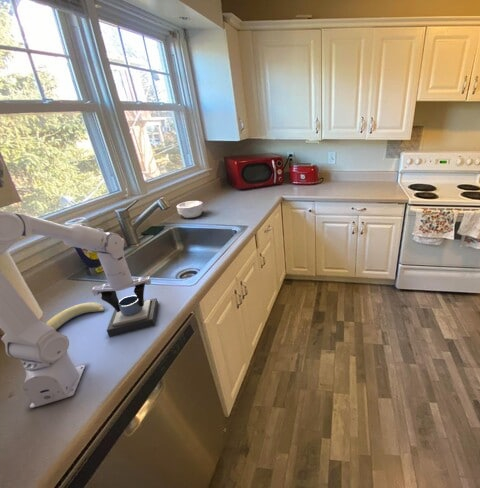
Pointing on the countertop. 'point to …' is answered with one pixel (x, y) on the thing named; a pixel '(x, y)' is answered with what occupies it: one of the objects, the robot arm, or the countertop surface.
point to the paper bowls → (190, 209)
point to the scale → (136, 324)
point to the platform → (140, 315)
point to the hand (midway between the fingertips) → (131, 307)
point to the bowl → (129, 305)
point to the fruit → (73, 313)
